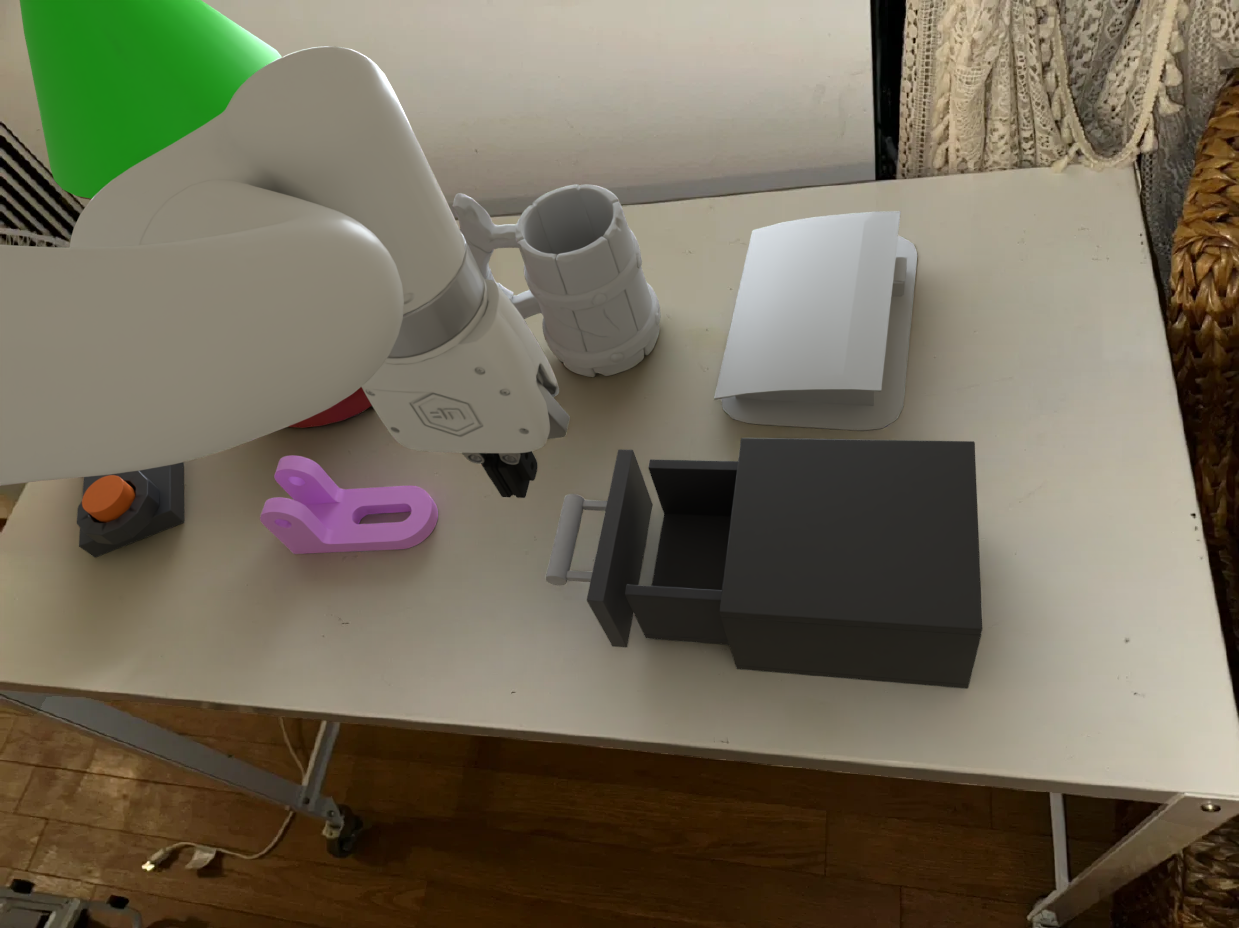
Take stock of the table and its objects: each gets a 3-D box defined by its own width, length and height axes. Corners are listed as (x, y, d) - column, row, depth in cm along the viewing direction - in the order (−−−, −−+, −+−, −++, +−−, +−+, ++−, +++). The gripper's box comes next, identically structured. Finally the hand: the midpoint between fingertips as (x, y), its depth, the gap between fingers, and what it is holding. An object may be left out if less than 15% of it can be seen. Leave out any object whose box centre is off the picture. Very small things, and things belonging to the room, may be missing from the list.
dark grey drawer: (555, 642, 69) (525, 596, 63) (587, 502, 76) (562, 447, 69) (811, 662, 64) (805, 615, 58) (821, 510, 70) (816, 452, 64)
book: (919, 234, 86) (921, 201, 83) (900, 433, 74) (902, 403, 71) (756, 234, 90) (752, 203, 87) (714, 421, 79) (707, 393, 75)
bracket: (294, 553, 80) (251, 513, 75) (310, 500, 84) (270, 456, 78) (431, 547, 78) (397, 504, 72) (443, 492, 81) (411, 446, 75)
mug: (657, 380, 83) (615, 233, 69) (481, 384, 87) (408, 247, 73) (671, 290, 89) (635, 138, 75) (506, 299, 93) (442, 157, 79)
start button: (135, 512, 82) (122, 502, 81) (93, 528, 82) (80, 519, 81) (136, 479, 85) (123, 468, 83) (95, 494, 85) (82, 484, 83)
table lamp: (352, 260, 102) (72, -201, 66) (467, 326, 92) (210, -174, 56) (213, 378, 96) (-181, -58, 60) (319, 464, 86) (-77, 1, 50)
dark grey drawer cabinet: (736, 669, 66) (719, 612, 58) (754, 507, 73) (740, 437, 65) (968, 689, 61) (982, 630, 54) (962, 514, 69) (974, 440, 61)
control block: (184, 535, 84) (158, 512, 81) (93, 570, 84) (63, 549, 81) (183, 415, 94) (159, 391, 90) (101, 447, 94) (74, 424, 90)
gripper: (261, 349, 48) (405, 523, 63) (528, 344, 44) (614, 532, 59) (311, 247, 52) (435, 433, 67) (560, 234, 48) (633, 436, 63)
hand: (519, 479), depth 63 cm, fingers closed
